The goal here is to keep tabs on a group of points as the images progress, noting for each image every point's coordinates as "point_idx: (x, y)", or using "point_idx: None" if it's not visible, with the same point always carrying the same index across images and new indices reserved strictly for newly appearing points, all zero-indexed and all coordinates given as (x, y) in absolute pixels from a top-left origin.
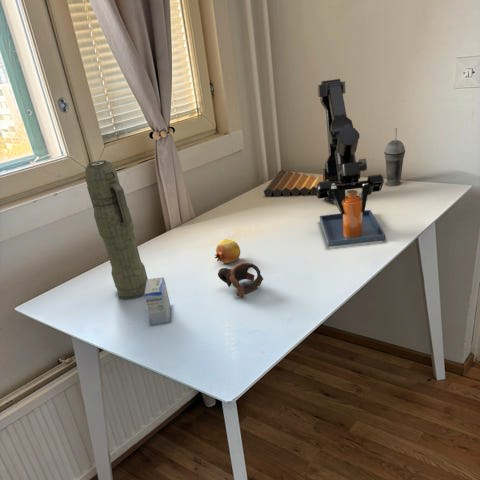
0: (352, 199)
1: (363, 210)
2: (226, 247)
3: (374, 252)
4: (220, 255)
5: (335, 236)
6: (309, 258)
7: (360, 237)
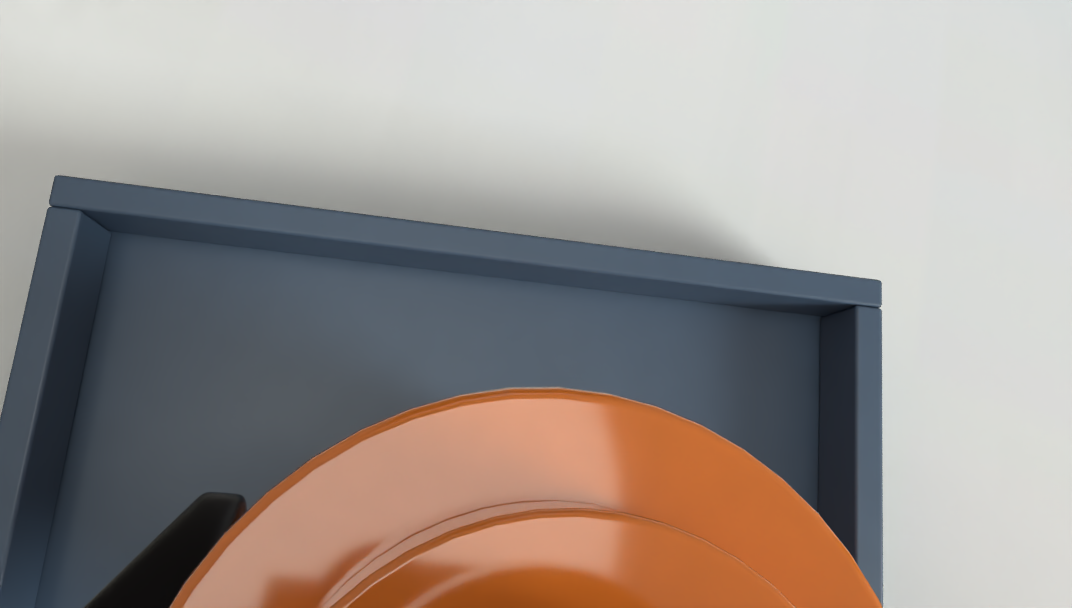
0: (628, 575)
1: (231, 496)
2: None
3: (345, 5)
4: None
5: None
6: (1039, 146)
7: (439, 234)
